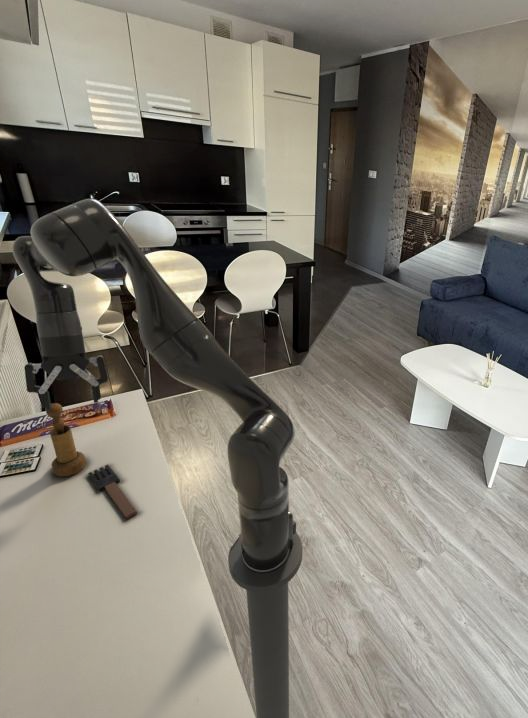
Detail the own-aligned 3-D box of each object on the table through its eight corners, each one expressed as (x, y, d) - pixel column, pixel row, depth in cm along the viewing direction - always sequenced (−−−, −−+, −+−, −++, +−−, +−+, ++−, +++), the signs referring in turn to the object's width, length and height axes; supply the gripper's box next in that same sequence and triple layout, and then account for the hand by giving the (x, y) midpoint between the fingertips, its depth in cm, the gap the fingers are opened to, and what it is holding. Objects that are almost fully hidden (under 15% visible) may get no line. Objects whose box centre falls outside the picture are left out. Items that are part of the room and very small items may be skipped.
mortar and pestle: (87, 470, 96) (71, 408, 88) (54, 480, 92) (34, 416, 85) (84, 455, 100) (69, 394, 93) (52, 464, 97) (34, 401, 89)
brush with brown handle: (142, 510, 87) (142, 507, 86) (121, 522, 84) (120, 519, 83) (108, 466, 98) (107, 464, 97) (88, 475, 94) (87, 473, 94)
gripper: (13, 338, 78) (29, 416, 81) (99, 331, 85) (110, 403, 88) (21, 334, 84) (35, 407, 87) (100, 328, 91) (111, 395, 94)
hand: (73, 405), depth 87 cm, fingers open, 8 cm apart
